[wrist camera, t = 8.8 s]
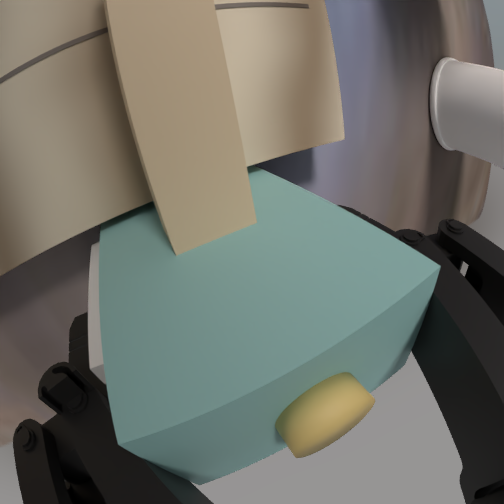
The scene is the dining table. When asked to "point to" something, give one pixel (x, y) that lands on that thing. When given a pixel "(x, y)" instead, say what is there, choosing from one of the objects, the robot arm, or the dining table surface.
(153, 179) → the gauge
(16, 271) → the dining table surface
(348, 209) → the robot arm
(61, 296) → the dining table surface
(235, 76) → the board
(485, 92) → the white smoke grenade
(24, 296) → the dining table surface
